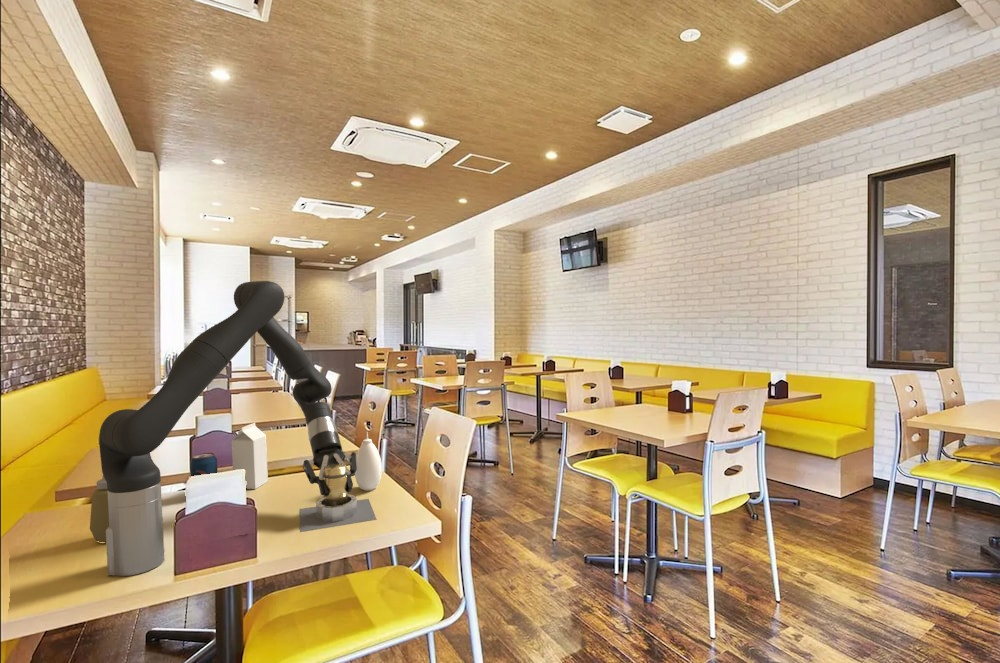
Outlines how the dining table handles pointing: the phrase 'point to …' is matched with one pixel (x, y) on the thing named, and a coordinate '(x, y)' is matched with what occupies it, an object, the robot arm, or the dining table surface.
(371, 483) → the sauce bottle
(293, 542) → the dining table surface
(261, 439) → the milk carton
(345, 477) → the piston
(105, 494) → the squeeze bottle
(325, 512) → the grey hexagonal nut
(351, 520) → the mat
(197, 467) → the soda can
